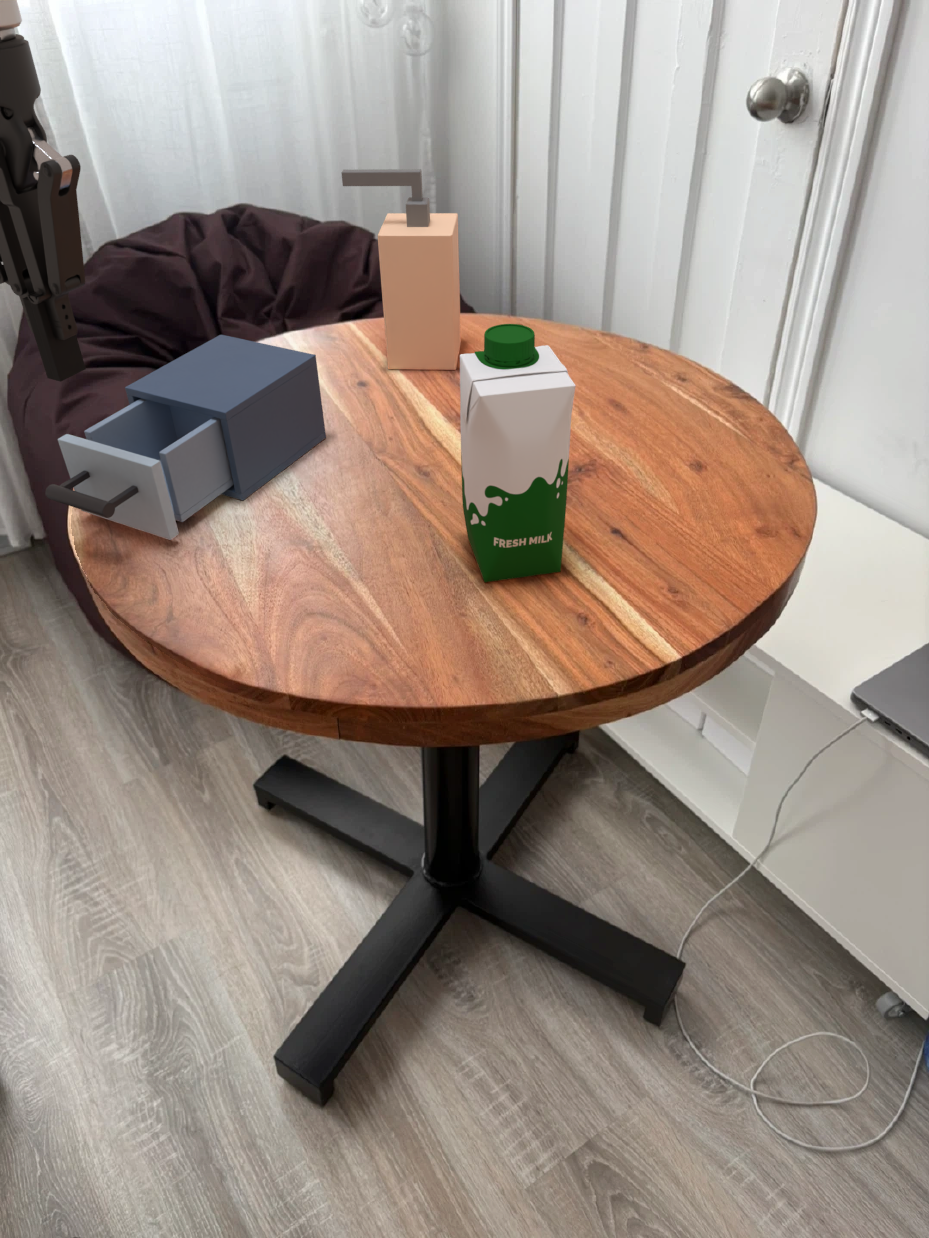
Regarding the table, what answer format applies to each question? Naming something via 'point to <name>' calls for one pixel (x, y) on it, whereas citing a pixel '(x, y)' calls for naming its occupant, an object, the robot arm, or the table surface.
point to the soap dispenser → (417, 276)
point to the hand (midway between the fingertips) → (66, 373)
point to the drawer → (146, 467)
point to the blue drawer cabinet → (246, 403)
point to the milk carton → (515, 453)
